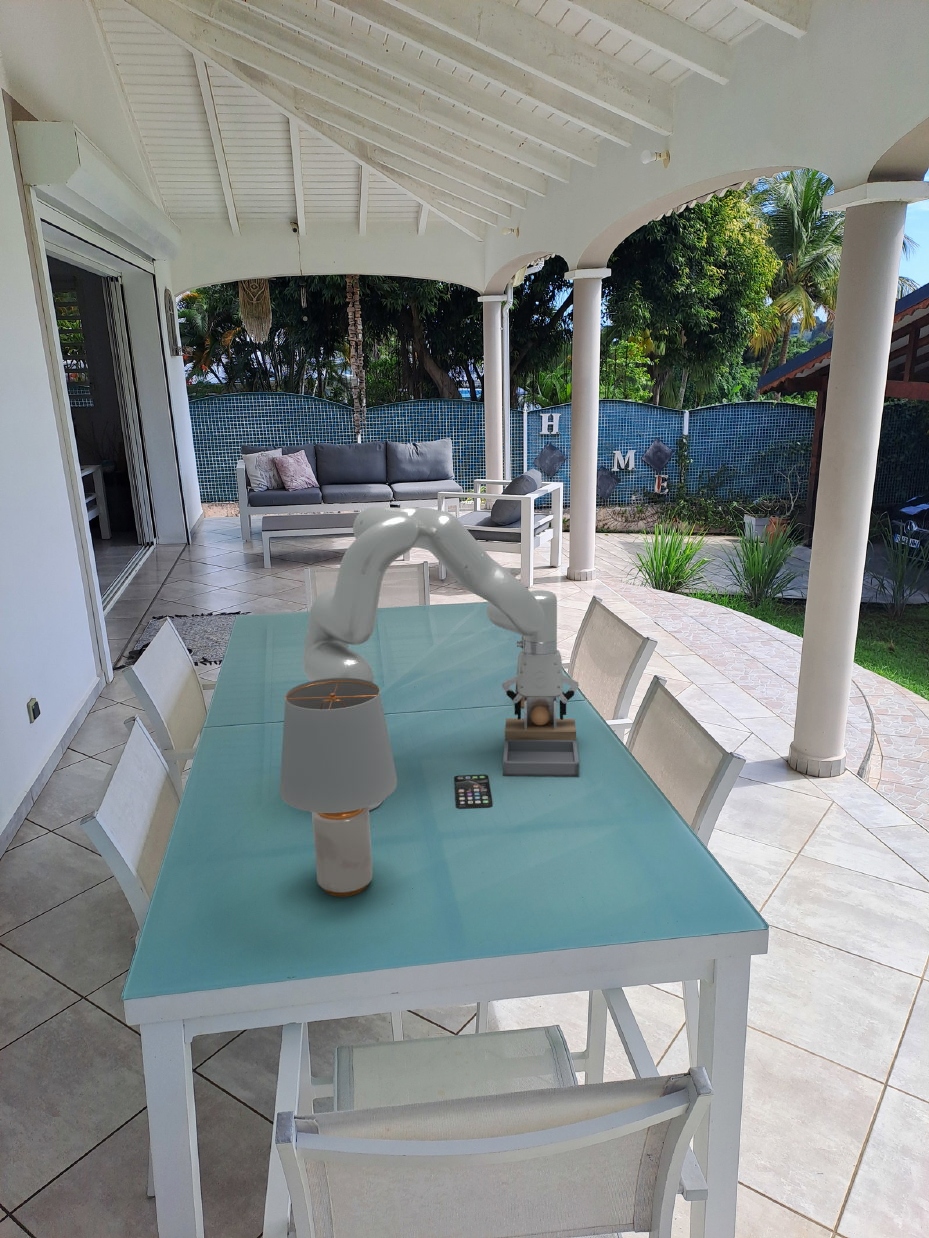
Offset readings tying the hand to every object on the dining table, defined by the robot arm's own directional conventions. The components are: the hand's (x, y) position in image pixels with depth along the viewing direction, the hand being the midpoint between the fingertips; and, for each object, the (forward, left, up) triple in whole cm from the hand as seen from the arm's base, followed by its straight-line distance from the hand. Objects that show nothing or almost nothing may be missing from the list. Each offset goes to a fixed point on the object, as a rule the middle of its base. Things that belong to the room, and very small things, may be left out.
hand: (540, 717), depth 198 cm
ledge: (0, 0, -7) cm, 7 cm away
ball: (0, 0, 0) cm, 0 cm away
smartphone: (-24, +14, -7) cm, 29 cm away
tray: (-10, 0, -7) cm, 12 cm away
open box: (0, 0, -2) cm, 2 cm away
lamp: (-59, +33, -7) cm, 68 cm away
